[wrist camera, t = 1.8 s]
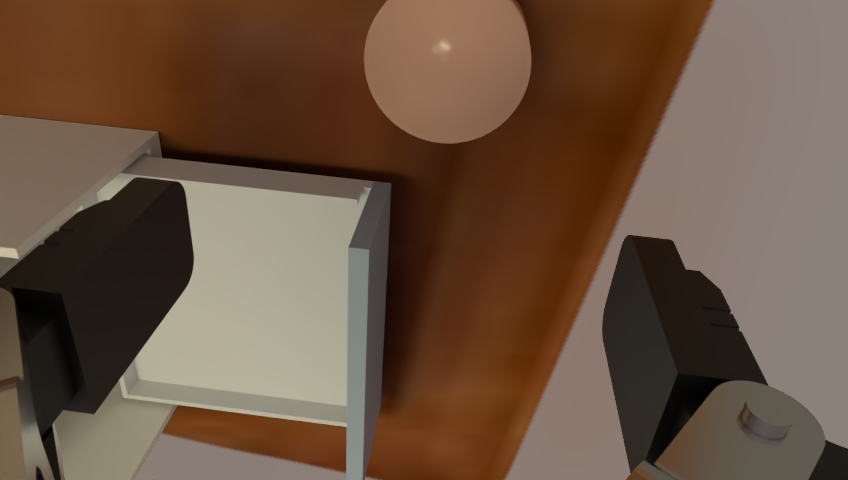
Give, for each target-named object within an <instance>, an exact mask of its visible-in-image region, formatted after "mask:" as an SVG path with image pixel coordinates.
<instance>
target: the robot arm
mask: <svg viewBox="0 0 848 480" xmlns="http://www.w3.org/2000/svg"><path fill="white" fill-rule="evenodd" d="M193 266H194V252H193V245H192V237H191V230H190V222H189V215H188V207H187V200H186V193H185V190H184V187H183V186H182V184H181V183H180V182H177V181H169V180H160V179H151V178H143V177H136V178H134V179H133V180H131V181H130V182H129V183H128V184H127V185H126V186H124V187H123V188H122V189H121V190H120V191H119V192H118V193H117V194H115V195H114V196H113V197H112V198H111V199H110V200H103V201H101V202H99V203H97V204H95V205H92V206H90V207H88V208H86V209H84V210H81V211H79V212H77V213H76V214H75V215H74V216H73V217H71V218H70V219H69V220H68V221H67V222H66V223H64V224H63V225H62V226H61V227H60V228H59V231H55V232H54V233H53V234H51V235H50V236H49V237H48V238H47V239H45V240H44V244H43V245H42V244H40V245H38V246H37V247H36V248H35V249H34V250H32V251H31V252H30V253H29V254H28V255H27V256H25V257H24V258H23V259H22V260H21V261H19V262H18V263H17V264H16V265H15V266H14V267H12V268H11V269H10V270H9V271H8V272H6V273H5V274H4V275H3V276H2V277H1V278H0V480H65V477H64V471H63V465H62V459H61V453H60V446H59V440H58V435H57V432H56V429H55V426H54V421H55V420H56V419H57V417H58V416H59V415H60V414H61V412H62V411H63V410H65V411H73V412H80V413H87V414H95V413H96V411H97V410H98V408H99V407H100V406H101V404H102V403H103V402H104V400H105V399H106V397H107V396H108V395H109V393H110V392H111V391H112V389H113V388H114V386H115V385H116V384H117V382H118V381H119V380H120V378H121V377H122V375H123V374H124V373H125V371H126V370H127V369H128V367H129V366H130V364H131V363H132V362H133V360H134V359H135V358H136V356H137V355H138V353H139V352H140V351H141V349H142V348H143V347H144V345H145V344H146V342H147V341H148V340H149V338H150V337H151V336H152V334H153V333H154V331H155V330H156V329H157V327H158V326H159V325H160V323H161V322H162V320H163V319H164V318H165V316H166V315H167V314H168V312H169V311H170V309H171V308H172V307H173V305H174V304H175V303H176V301H177V300H178V298H179V297H180V296H181V294H182V293H183V292H184V290H185V289H186V287H187V286H188V284H189V281H190V279H191V276H192V272H193ZM730 312H731V310H730V308H729V306H728V304H727V302H726V300H725V298H724V296H723V294H722V292H721V290H720V289H719V288H718V287H717V286H716V285H714V284H713V283H712V282H711V281H710V280H709V279H708V278H707V277H706V276H704V275H703V274H702V273H701V272H700V271H694V270H686V269H685V267H684V265H683V262H682V260H681V258H680V255H679V253H678V251H677V249H676V246H675V244H674V242H673V241H672V240H668V239H659V238H651V237H641V236H633V235H628V236H627V237H626V238H625V239H624V241H623V244H622V247H621V250H620V254H619V257H618V261H617V265H616V269H615V272H614V276H613V279H612V283H611V286H610V290H609V293H608V297H607V301H606V305H605V309H604V315H603V325H602V332H603V333H602V334H603V342H604V347H605V352H606V357H607V361H608V366H609V371H610V376H611V381H612V385H613V390H614V395H615V400H616V405H617V410H618V415H619V420H620V424H621V429H622V434H623V438H624V444H625V448H626V453H627V458H628V463H629V467H630V473H631V474H630V475H629V477H628V478H627V479H626V480H848V449H847V448H844V447H841V446H839V445H836V444H834V443H831V442H829V441H827V440H825V435H824V432H823V429H822V427H821V426H820V424H819V422H818V421H817V419H816V418H815V417H814V416H813V415H812V414H811V412H810V411H809V410H808V409H807V408H805V407H804V406H803V405H802V404H801V403H799V402H798V401H796V400H795V399H794V398H792V397H791V396H789V395H787V394H785V393H784V392H781V391H779V390H777V389H775V388H772V387H770V386H768V384H767V382H766V380H765V378H764V376H763V374H762V372H761V370H760V368H759V366H758V364H757V362H756V360H755V358H754V356H753V354H752V352H751V350H750V348H749V346H748V344H747V342H746V340H745V338H744V336H743V334H742V332H741V331H739V326H738V324H737V322H736V320H735V318H734V316H733V314H730Z"/></svg>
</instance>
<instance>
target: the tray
mask: <svg viewBox="0 0 848 480" xmlns="http://www.w3.org/2000/svg"><path fill="white" fill-rule="evenodd" d="M136 177H143V178H151V179H160V180H169V181H177V182H180V183H181V184H182V186H183V187H184V190H185V193H186V200H187V207H188V215H189V222H190V230H191V237H192V245H193V252H194V266H193V272H192V276H191V279H190V281H189V284H188V286H187V287H186V289H185V290H184V292H183V293H182V294H181V296H180V297H179V298H178V300H177V301H176V303H175V304H174V305H173V307H172V308H171V309H170V311H169V312H168V314H167V315H166V316H165V318H164V319H163V320H162V322H161V323H160V325H159V326H158V327H157V329H156V330H155V331H154V333H153V334H152V336H151V337H150V338H149V340H148V341H147V342H146V344H145V345H144V347H143V348H142V349H141V351H140V352H139V353H138V355H137V356H136V358H135V359H134V360H133V362H132V363H131V364H130V366H129V367H128V369H127V370H126V371H125V373H124V374H123V375H122V377H121V378H120V380H119V382H120V387H121V391H122V395H123V398H129V399H137V400H144V401H152V402H160V403H167V404H175V405H183V406H190V407H198V408H206V409H214V410H221V411H229V412H237V413H244V414H252V415H260V416H267V417H275V418H283V419H290V420H298V421H306V422H313V423H321V424H329V425H336V426H344V427H347V455H346V480H364V479H365V475H366V470H367V465H368V461H369V456H370V452H371V447H372V443H373V438H374V433H375V429H376V424H377V420H378V415H379V411H380V406H381V389H382V368H383V347H384V326H385V305H386V284H387V263H388V242H389V221H390V200H391V183H386V182H377V181H367V180H358V179H349V178H340V177H331V176H322V175H313V174H304V173H295V172H286V171H276V170H267V169H258V168H249V167H240V166H231V165H222V164H213V163H204V162H195V161H185V160H176V159H167V158H158V157H149V156H139V157H138V158H137V159H136V160H135V161H133V162H132V163H131V164H130V165H129V166H128V167H126V168H125V169H124V170H123V171H122V172H121V173H119V174H118V175H117V176H116V177H115V178H113V179H112V180H111V181H110V182H109V183H108V184H106V185H105V186H104V187H103V188H102V189H101V190H99V191H98V192H97V193H96V194H95V195H93V196H92V197H91V198H90V199H89V200H88V201H86V202H85V203H84V204H83V205H82V206H81V207H79V208H78V209H77V211H78V212H79V211H81V210H84V209H86V208H88V207H90V206H92V205H95V204H97V203H99V202H101V201H103V200H110V199H111V198H112V197H113V196H114V195H115V194H117V193H118V192H119V191H120V190H121V189H122V188H123V187H124V186H126V185H127V184H128V183H129V182H130V181H131V180H133V179H134V178H136Z"/></svg>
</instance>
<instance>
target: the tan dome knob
mask: <svg viewBox="0 0 848 480" xmlns="http://www.w3.org/2000/svg"><path fill="white" fill-rule="evenodd" d="M364 69H365V74H366V79H367V83H368V86H369V89H370V91H371V93H372V96H373V98H374V100H375V101H376V103H377V104H378V106H379V108H380V109H381V110H382V111H383V113H384V114H385V115H386V116H387V117H388V118H389V119H390V120H391V121H392V122H393V123H394V124H395V125H397V126H398V127H399V128H401V129H402V130H404V131H406V132H407V133H409V134H411V135H413V136H415V137H418V138H420V139H423V140H427V141H431V142H437V143H461V142H466V141H471V140H474V139H477V138H480V137H482V136H484V135H486V134H488V133H490V132H491V131H493V130H495V129H496V128H498V127H499V126H500V125H501V124H502V123H504V122H505V121H506V120H507V119H508V118H509V117H510V116H511V114H512V113H513V112H514V111H515V109H516V108H517V107H518V105H519V104H520V102H521V100H522V98H523V96H524V94H525V91H526V88H527V86H528V82H529V78H530V73H531V48H530V41H529V34H528V28H527V23H526V20H525V17H524V13H523V11H522V9H521V7H520V5H519V3H518V2H517V0H387V1H386V2H385V4H384V5H383V6H382V8H381V9H380V11H379V12H378V13H377V15H376V17H375V18H374V20H373V22H372V24H371V26H370V29H369V32H368V35H367V39H366V43H365V50H364Z"/></svg>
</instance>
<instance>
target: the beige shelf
mask: <svg viewBox="0 0 848 480" xmlns="http://www.w3.org/2000/svg"><path fill="white" fill-rule="evenodd" d="M139 156H149V157H158V158H162V153H161V147H160V140H159V134H158V132H157V131H147V130H138V129H129V128H120V127H110V126H101V125H92V124H82V123H73V122H64V121H55V120H45V119H36V118H27V117H17V116H8V115H0V278H1V277H2V276H3V275H4V274H5V273H6V272H8V271H9V270H10V269H11V268H12V267H14V266H15V265H16V264H17V263H18V262H19V261H21V260H22V259H23V258H24V257H25V256H27V255H28V254H29V253H30V252H31V251H32V250H34V249H35V248H36V247H37V246H38V245H40V244H42V245H43V244H44V240H45V239H47V238H48V237H49V236H50V235H51V234H53V233H54V232H55V231H59V228H60V227H61V226H62V225H63V224H64V223H66V222H67V221H68V220H69V219H70V218H71V217H73V216H74V215H75V214H76V213H77V212H78V211H77V209H78V208H79V207H81V206H82V205H83V204H84V203H85V202H86V201H88V200H89V199H90V198H91V197H92V196H93V195H95V194H96V193H97V192H98V191H99V190H101V189H102V188H103V187H104V186H105V185H106V184H108V183H109V182H110V181H111V180H112V179H113V178H115V177H116V176H117V175H118V174H119V173H121V172H122V171H123V170H124V169H125V168H126V167H128V166H129V165H130V164H131V163H132V162H133V161H135V160H136V159H137V158H138V157H139ZM176 407H177V405H175V404H167V403H160V402H152V401H144V400H137V399H129V398H123V395H122V391H121V387H120V382H119V381H118V382H117V384H116V385H115V386H114V388H113V389H112V391H111V392H110V393H109V395H108V396H107V397H106V399H105V400H104V402H103V403H102V404H101V406H100V407H99V408H98V410H97V411H96V413H95V414H87V413H80V412H73V411H65V410H63V411H62V412H61V414H60V415H59V416H58V417H57V419H56V420H55V421H54V426H55V429H56V432H57V435H58V440H59V446H60V453H61V459H62V465H63V471H64V477H65V480H134V479H135V477H136V475H137V474H138V472H139V471H140V468H141V467H142V465H143V464H144V462H145V460H146V458H147V457H148V455H149V453H150V452H151V450H152V448H153V447H154V445H155V443H156V441H157V440H158V438H159V436H160V435H161V433H162V431H163V429H164V428H165V426H166V424H167V423H168V421H169V419H170V417H171V416H172V414H173V412H174V411H175V409H176Z"/></svg>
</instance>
